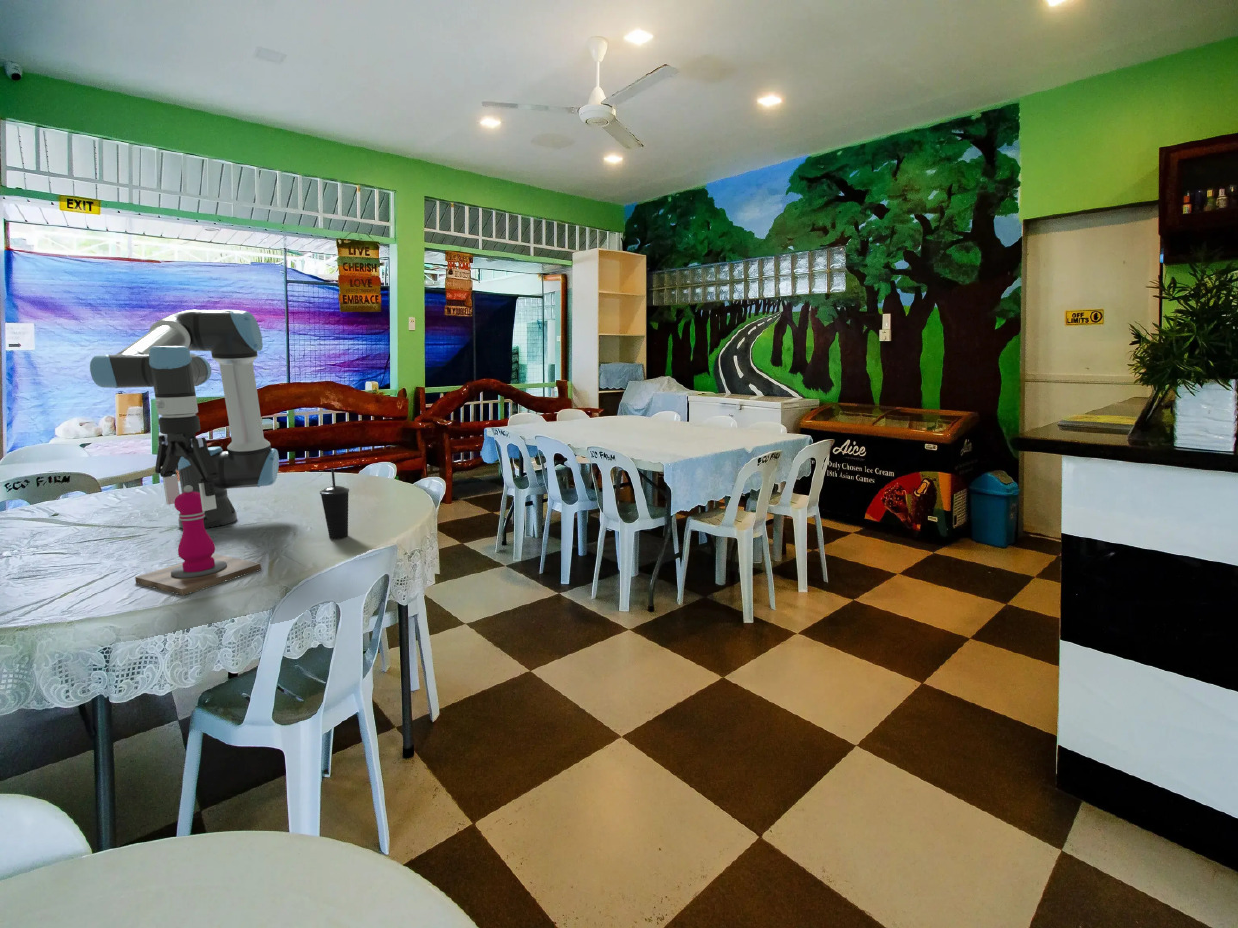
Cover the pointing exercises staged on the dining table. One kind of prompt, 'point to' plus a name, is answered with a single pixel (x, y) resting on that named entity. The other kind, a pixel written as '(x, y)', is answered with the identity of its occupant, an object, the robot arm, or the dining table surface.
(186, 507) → the pepper mill
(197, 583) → the mount board
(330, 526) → the drinking cup
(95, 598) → the dining table surface
